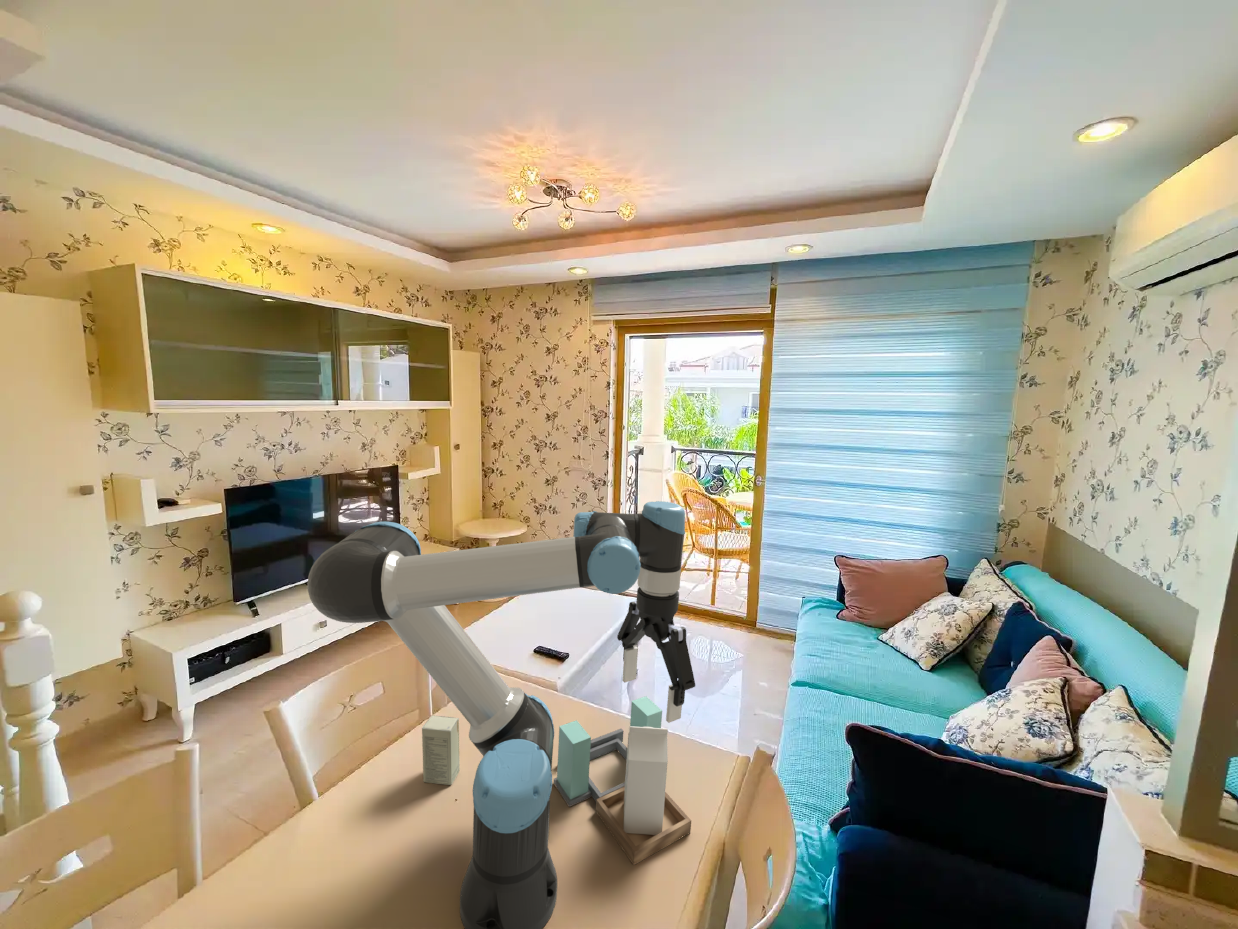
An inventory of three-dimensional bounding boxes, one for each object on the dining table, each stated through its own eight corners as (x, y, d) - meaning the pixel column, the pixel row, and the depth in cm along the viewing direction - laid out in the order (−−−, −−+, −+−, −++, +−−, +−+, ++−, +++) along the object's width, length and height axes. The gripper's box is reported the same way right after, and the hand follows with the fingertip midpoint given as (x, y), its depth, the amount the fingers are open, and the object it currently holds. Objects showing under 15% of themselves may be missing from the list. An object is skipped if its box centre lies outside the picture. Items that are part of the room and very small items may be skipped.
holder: (575, 817, 96) (579, 755, 94) (544, 770, 107) (547, 714, 106) (669, 773, 108) (673, 718, 107) (632, 735, 120) (636, 685, 118)
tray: (633, 865, 87) (634, 852, 86) (595, 811, 97) (596, 799, 97) (690, 833, 94) (691, 820, 93) (649, 786, 105) (649, 774, 104)
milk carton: (661, 836, 92) (669, 742, 89) (623, 833, 92) (629, 739, 89) (659, 805, 99) (666, 717, 96) (623, 802, 99) (629, 714, 97)
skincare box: (460, 770, 106) (461, 717, 104) (451, 786, 101) (452, 731, 100) (431, 767, 106) (431, 714, 105) (421, 782, 102) (421, 727, 100)
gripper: (723, 612, 81) (712, 731, 84) (635, 564, 102) (628, 661, 104) (688, 621, 77) (677, 746, 80) (604, 569, 97) (597, 670, 100)
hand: (649, 698), depth 92 cm, fingers open, 13 cm apart
